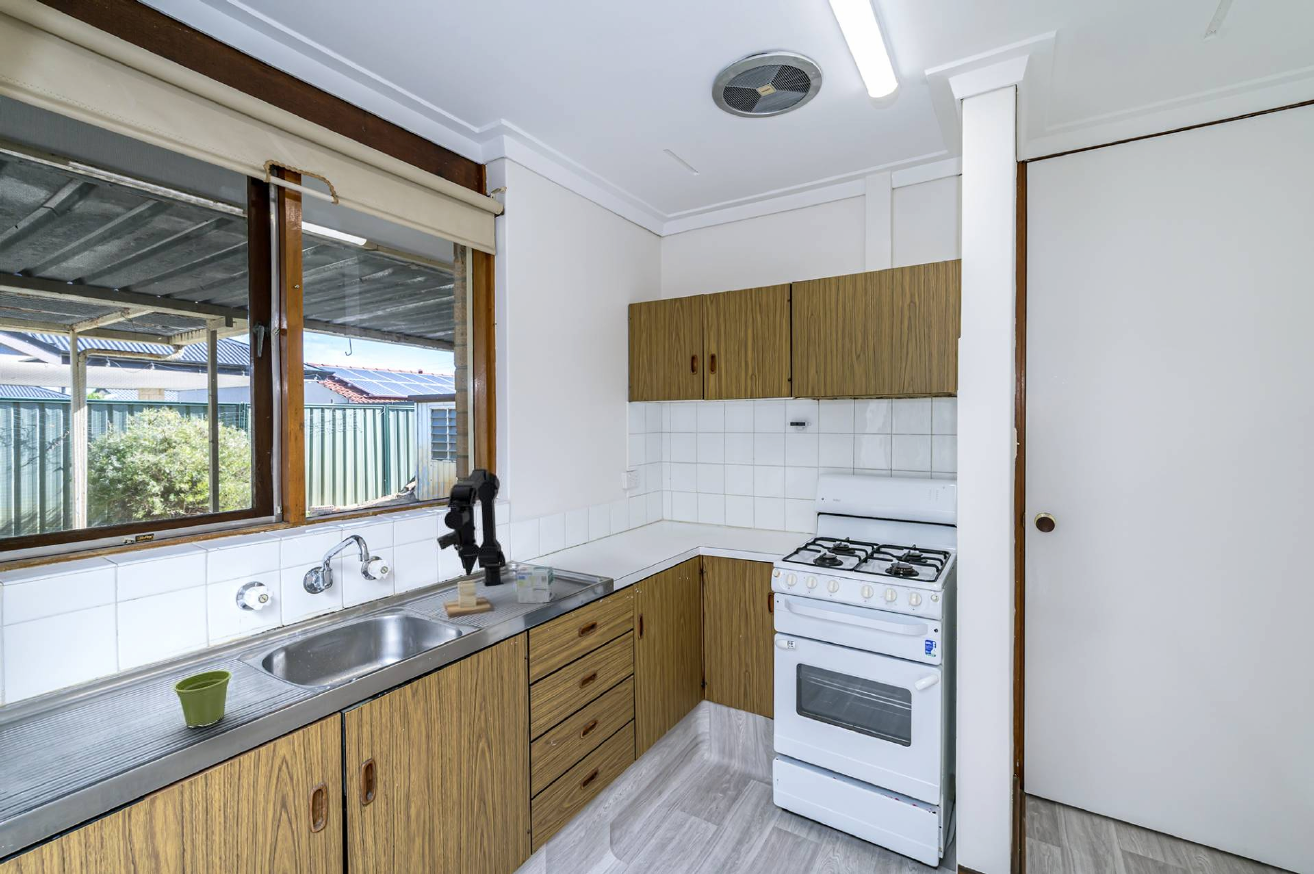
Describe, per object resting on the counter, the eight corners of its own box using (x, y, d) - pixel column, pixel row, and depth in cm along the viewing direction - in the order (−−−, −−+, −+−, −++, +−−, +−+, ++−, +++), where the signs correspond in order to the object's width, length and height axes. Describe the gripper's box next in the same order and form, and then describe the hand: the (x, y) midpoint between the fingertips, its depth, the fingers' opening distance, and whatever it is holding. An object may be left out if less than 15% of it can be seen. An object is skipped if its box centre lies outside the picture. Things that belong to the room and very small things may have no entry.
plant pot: (187, 738, 114) (185, 694, 114) (167, 726, 119) (165, 684, 119) (241, 717, 122) (239, 676, 122) (221, 706, 127) (219, 666, 127)
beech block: (458, 603, 190) (457, 582, 190) (474, 601, 192) (473, 580, 192) (459, 608, 185) (459, 586, 185) (476, 605, 187) (475, 584, 187)
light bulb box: (554, 597, 199) (553, 565, 199) (549, 603, 192) (548, 570, 192) (523, 597, 200) (522, 565, 199) (517, 603, 193) (516, 571, 193)
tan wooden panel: (444, 608, 192) (444, 602, 192) (485, 602, 198) (485, 596, 197) (448, 620, 180) (448, 613, 180) (492, 613, 186) (492, 607, 186)
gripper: (436, 521, 193) (437, 568, 194) (440, 530, 176) (442, 582, 177) (471, 518, 198) (472, 564, 198) (479, 527, 181) (480, 577, 181)
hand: (466, 571), depth 188 cm, fingers open, 9 cm apart
